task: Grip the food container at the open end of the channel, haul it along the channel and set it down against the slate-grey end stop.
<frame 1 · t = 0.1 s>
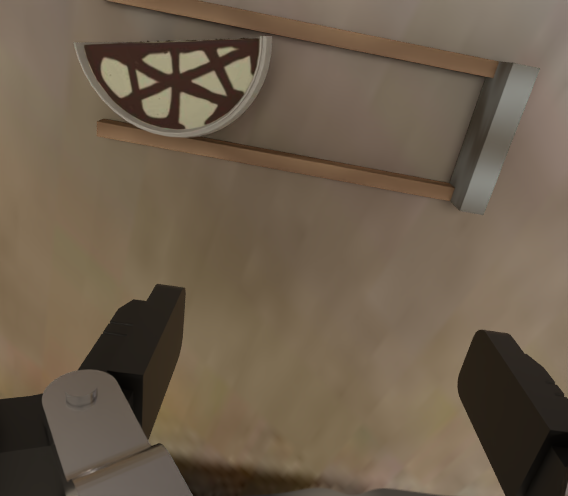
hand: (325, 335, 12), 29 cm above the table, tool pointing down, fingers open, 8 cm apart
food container: (203, 81, 37), resting in guide channel
guide channel: (310, 102, 38), on the table
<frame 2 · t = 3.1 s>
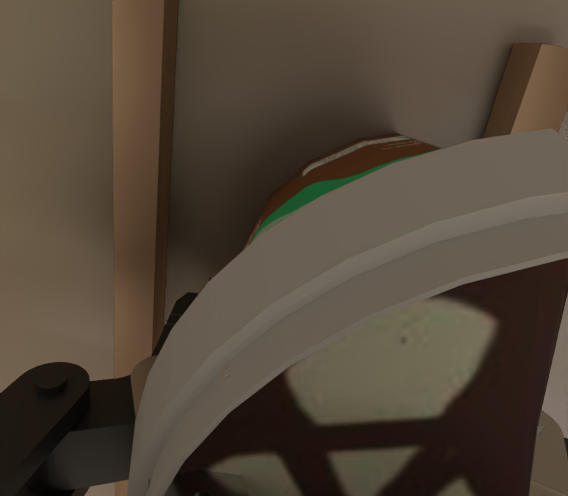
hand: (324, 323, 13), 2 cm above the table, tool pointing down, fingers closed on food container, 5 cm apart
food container: (300, 276, 15), resting in guide channel, touching gripper
guide channel: (265, 468, 19), on the table
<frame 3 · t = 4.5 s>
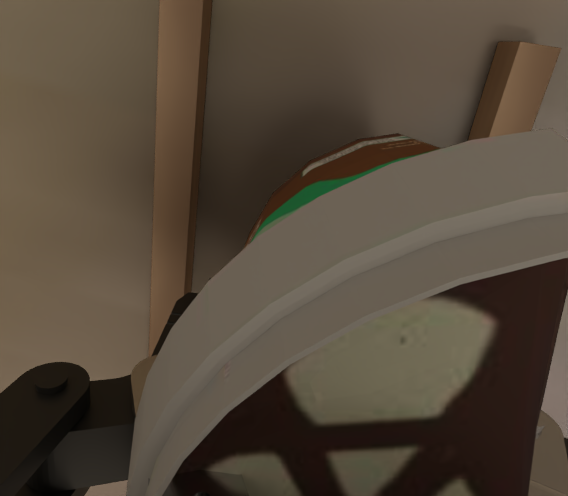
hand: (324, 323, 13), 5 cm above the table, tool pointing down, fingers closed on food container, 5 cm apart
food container: (300, 276, 15), point 2 cm above the table, touching gripper
guide channel: (279, 425, 21), on the table
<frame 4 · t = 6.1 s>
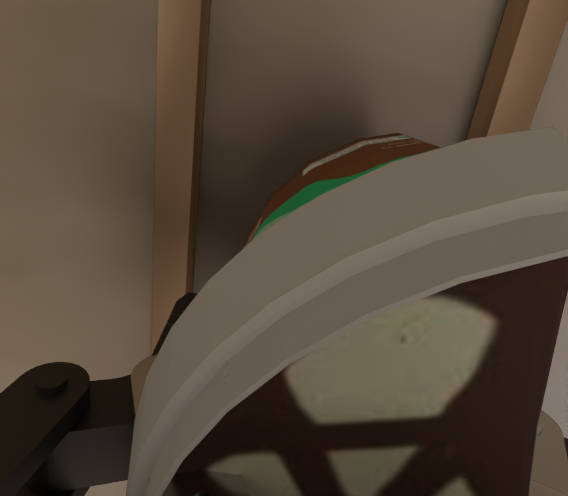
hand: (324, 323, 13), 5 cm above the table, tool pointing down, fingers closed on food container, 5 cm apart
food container: (300, 276, 15), point 2 cm above the table, touching gripper
guide channel: (309, 272, 18), on the table
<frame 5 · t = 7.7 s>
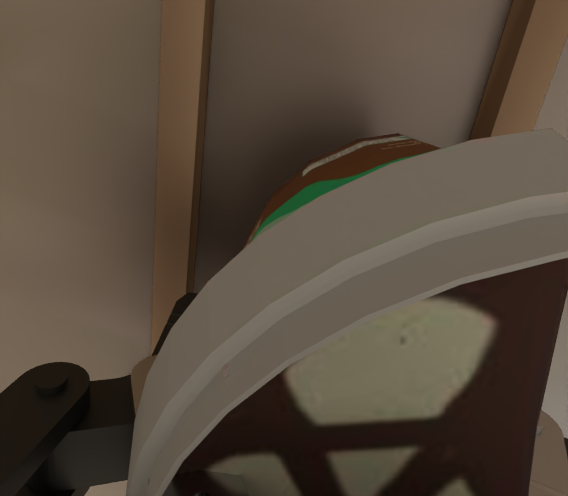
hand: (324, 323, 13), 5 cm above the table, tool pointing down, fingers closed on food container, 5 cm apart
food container: (300, 276, 15), point 2 cm above the table, touching gripper
guide channel: (351, 57, 15), on the table
when the fingers open (3 cm above the table, at t = 8.9 s): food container moves 1 cm, resting in guide channel.
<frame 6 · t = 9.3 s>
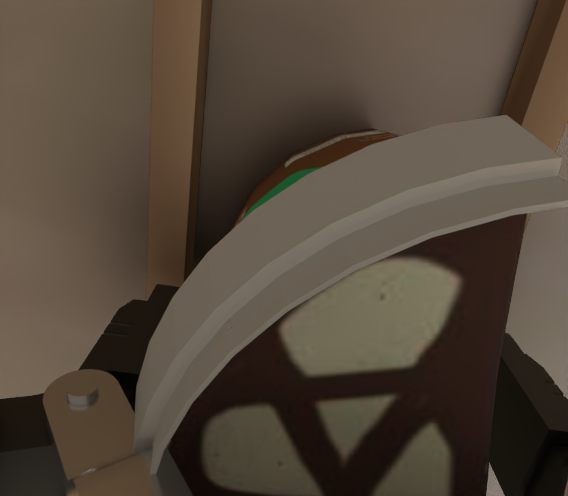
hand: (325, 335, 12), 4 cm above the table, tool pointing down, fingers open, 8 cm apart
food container: (281, 265, 16), resting in guide channel, touching gripper
guide channel: (362, 58, 13), on the table
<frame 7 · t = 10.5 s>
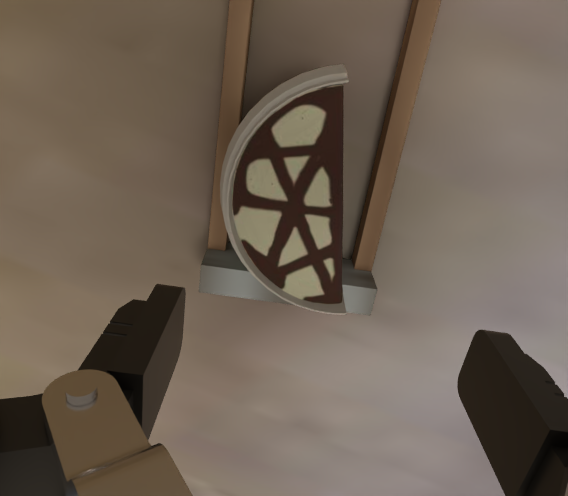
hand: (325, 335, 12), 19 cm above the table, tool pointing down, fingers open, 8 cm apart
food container: (283, 160, 30), resting in guide channel
guide channel: (324, 48, 27), on the table
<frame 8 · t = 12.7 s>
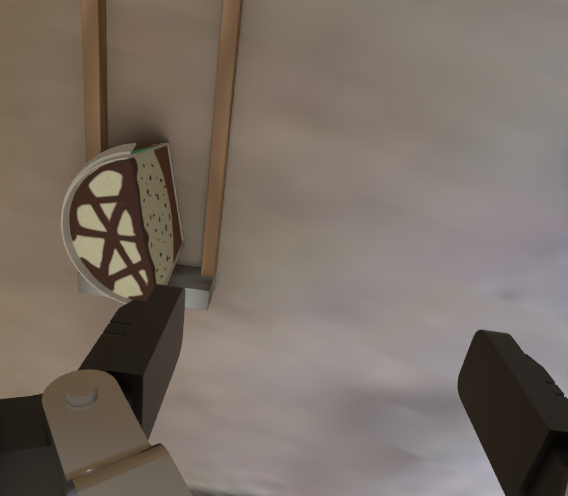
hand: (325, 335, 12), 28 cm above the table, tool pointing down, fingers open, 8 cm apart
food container: (143, 195, 41), resting in guide channel
guide channel: (161, 116, 38), on the table
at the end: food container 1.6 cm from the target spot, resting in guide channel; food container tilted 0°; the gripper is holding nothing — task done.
